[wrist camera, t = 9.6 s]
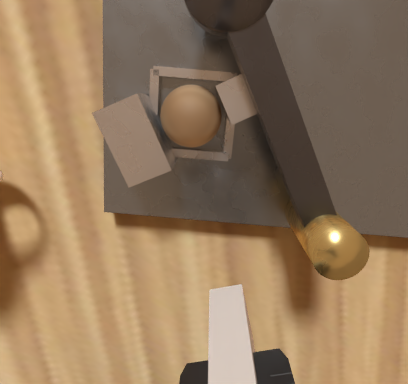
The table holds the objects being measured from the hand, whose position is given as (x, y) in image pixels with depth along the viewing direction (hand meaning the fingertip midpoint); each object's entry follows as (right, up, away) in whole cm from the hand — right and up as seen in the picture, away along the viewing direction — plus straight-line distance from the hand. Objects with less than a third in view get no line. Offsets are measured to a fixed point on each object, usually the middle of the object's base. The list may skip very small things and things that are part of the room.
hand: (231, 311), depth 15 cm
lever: (+3, +11, +7) cm, 13 cm away
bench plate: (+5, +15, +9) cm, 18 cm away
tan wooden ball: (-2, +11, +8) cm, 14 cm away
